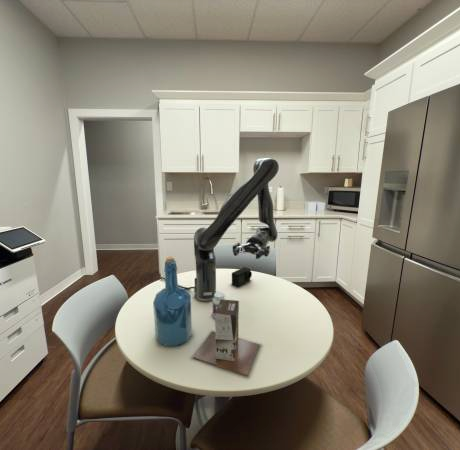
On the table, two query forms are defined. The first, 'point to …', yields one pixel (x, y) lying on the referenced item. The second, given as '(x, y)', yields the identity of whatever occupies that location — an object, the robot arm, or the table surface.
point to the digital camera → (241, 277)
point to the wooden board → (240, 365)
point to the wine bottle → (172, 309)
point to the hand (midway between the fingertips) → (245, 254)
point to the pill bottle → (217, 301)
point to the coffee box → (227, 329)
